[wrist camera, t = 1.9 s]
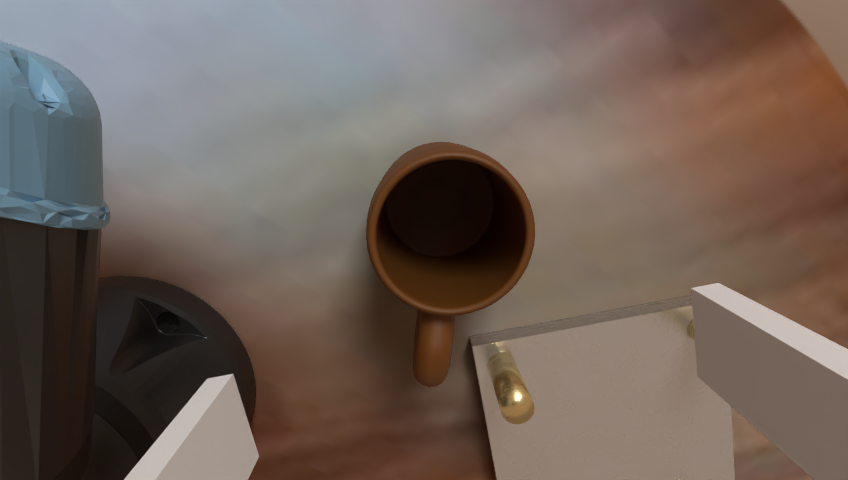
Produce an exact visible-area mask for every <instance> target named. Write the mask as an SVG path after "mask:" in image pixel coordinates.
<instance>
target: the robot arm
mask: <svg viewBox="0 0 848 480" xmlns="http://www.w3.org/2000/svg"><path fill="white" fill-rule="evenodd" d="M109 219H110V210H109V207H108V206H107V204H106V203H105V202H104V200H103V160H102V123H101V117H100V112H99V109H98V106H97V104H96V101H95V99H94V97H93V96H92V94H91V92H90V91H89V89H88V88H87V87H86V86H85V85H84V83H83V82H82V81H81V80H80V79H79V78H78V77H77V76H75V75H74V74H73V73H72V72H71V71H70V70H68V69H67V68H65V67H64V66H63V65H61V64H60V63H58V62H56V61H54V60H52V59H50V58H48V57H45V56H42V55H40V54H37V53H35V52H32V51H29V50H27V49H24V48H21V47H18V46H15V45H12V44H8V43H5V42H2V41H0V480H248V478H249V476H250V474H251V472H252V470H253V468H254V466H255V464H256V462H257V459H258V457H259V455H258V452H257V448H256V445H255V442H254V439H253V436H252V432H251V429H250V426H249V424H250V422H251V419H252V415H253V411H254V406H255V396H256V393H255V379H254V373H253V369H252V365H251V362H250V359H249V356H248V354H247V352H246V349H245V348H244V346H243V344H242V342H241V340H240V339H239V337H238V335H237V334H236V333H235V331H234V330H233V328H232V327H231V326H230V325H229V324H228V322H227V321H226V320H225V319H224V318H223V317H222V316H221V315H220V314H219V313H218V312H217V311H215V310H214V309H213V308H212V307H211V306H209V305H208V304H207V303H205V302H204V301H202V300H201V299H200V298H198V297H196V296H195V295H193V294H191V293H189V292H187V291H185V290H183V289H181V288H179V287H176V286H174V285H171V284H168V283H165V282H162V281H158V280H154V279H149V278H142V277H130V276H119V277H108V278H102V279H99V267H100V248H101V229H102V228H104V227H105V226H106V225H107V224H108V223H109ZM691 293H692V307H693V321H694V336H695V350H696V364H697V377H699V378H700V379H701V380H702V381H703V382H704V383H705V384H706V385H708V386H709V387H710V388H711V389H712V390H713V391H714V392H716V393H717V394H718V395H719V396H720V397H721V398H722V399H723V400H725V401H726V402H727V403H728V404H729V405H730V406H731V407H732V408H734V409H735V410H736V411H737V412H738V413H739V414H740V415H742V416H743V417H744V418H745V419H746V420H747V421H748V422H749V423H751V424H752V425H753V426H754V427H755V428H756V429H757V430H759V431H760V432H761V433H762V434H763V435H764V436H765V437H766V438H768V439H769V440H770V441H771V442H772V443H773V444H774V445H775V446H777V447H778V448H779V449H780V450H781V451H782V452H783V453H785V454H786V455H787V456H788V457H789V458H790V459H791V460H792V461H794V462H795V463H796V464H797V465H798V466H799V467H800V468H802V469H803V470H804V471H805V472H806V473H807V474H808V475H809V476H811V477H812V478H813V479H814V480H848V349H846V348H844V347H842V346H840V345H838V344H836V343H834V342H832V341H830V340H828V339H827V338H825V337H823V336H821V335H819V334H817V333H815V332H813V331H811V330H809V329H807V328H805V327H803V326H801V325H799V324H797V323H795V322H793V321H791V320H790V319H788V318H786V317H784V316H782V315H780V314H778V313H776V312H774V311H772V310H770V309H768V308H766V307H764V306H762V305H760V304H758V303H756V302H755V301H753V300H751V299H749V298H747V297H745V296H743V295H741V294H739V293H737V292H735V291H733V290H731V289H729V288H727V287H725V286H723V285H721V284H720V283H716V284H711V285H705V286H700V287H695V288H691Z"/></svg>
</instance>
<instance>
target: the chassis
mask: <svg viewBox="0 0 848 480" xmlns="http://www.w3.org/2000/svg"><path fill="white" fill-rule="evenodd" d="M470 341H471V346H472V351H473V357H474V362H475V368H476V373H477V379H478V384H479V389H480V395H481V400H482V406H483V411H484V417H485V422H486V428H487V433H488V438H489V444H490V449H491V455H492V460H493V466H494V471H495V476H496V480H735V475H734V455H733V436H732V416H731V406H730V405H729V404H728V403H727V402H726V401H725V400H723V399H722V398H721V397H720V396H719V395H718V394H717V393H716V392H714V391H713V390H712V389H711V388H710V387H709V386H708V385H706V384H705V383H704V382H703V381H702V380H701V379H700V378H699V377H697V364H696V350H695V336H694V321H693V307H692V295H690V296H684V297H679V298H674V299H668V300H663V301H658V302H652V303H647V304H642V305H636V306H631V307H626V308H620V309H615V310H610V311H604V312H599V313H594V314H588V315H583V316H578V317H572V318H567V319H562V320H556V321H551V322H546V323H540V324H535V325H530V326H524V327H519V328H514V329H508V330H503V331H498V332H492V333H487V334H482V335H476V336H471V337H470Z"/></svg>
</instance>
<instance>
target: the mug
mask: <svg viewBox="0 0 848 480" xmlns="http://www.w3.org/2000/svg"><path fill="white" fill-rule="evenodd" d="M366 239H367V247H368V252H369V256H370V260H371V262H372V265H373V267H374V270H375V271H376V273H377V275H378V277H379V278H380V280H381V281H382V282H383V284H384V285H385V286H386V288H387V289H388V290H389V291H390V292H391V293H392V294H393V295H395V296H396V297H397V298H398V299H400V300H401V301H403V302H404V303H406V304H408V305H409V306H411V307H414V308H416V309H418V310H417V319H416V329H415V340H414V356H413V370H414V376H415V377H416V379H417V381H418V382H420V383H421V384H422V385H425V386H428V387H433V386H437V385H439V384H441V383H442V382H443V381H444V379H445V378H446V376H447V373H448V369H449V365H450V359H451V352H452V342H453V330H454V319H455V315H462V314H467V313H471V312H475V311H478V310H481V309H483V308H485V307H487V306H489V305H492V304H493V303H495V302H496V301H498V300H499V299H501V298H502V297H503V296H504V295H506V294H507V293H508V292H509V291H510V290H511V289H512V288H513V287H514V286H515V285H516V284H517V282H518V281H519V279H520V278H521V277H522V275H523V273H524V271H525V270H526V268H527V266H528V263H529V261H530V258H531V255H532V251H533V247H534V239H535V223H534V217H533V212H532V209H531V205H530V202H529V200H528V198H527V196H526V194H525V192H524V190H523V189H522V187H521V186H520V184H519V183H518V182H517V181H516V179H515V178H514V177H513V176H512V175H511V174H510V173H509V172H508V170H507V169H505V168H504V167H503V166H502V165H501V164H500V163H499V162H497V161H496V160H494V159H493V158H491V157H490V156H488V155H486V154H484V153H482V152H480V151H477V150H474V149H472V148H469V147H466V146H463V145H459V144H454V143H449V142H435V143H429V144H424V145H421V146H418V147H415V148H414V149H412V150H410V151H408V152H406V153H405V154H404V155H402V156H401V157H400V158H399V159H398V160H396V161H395V162H394V163H393V165H392V166H391V167H390V168H389V170H388V171H387V172H386V174H385V175H384V177H383V179H382V180H381V182H380V183H379V185H378V187H377V189H376V191H375V193H374V195H373V198H372V201H371V204H370V207H369V211H368V218H367V235H366Z"/></svg>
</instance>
